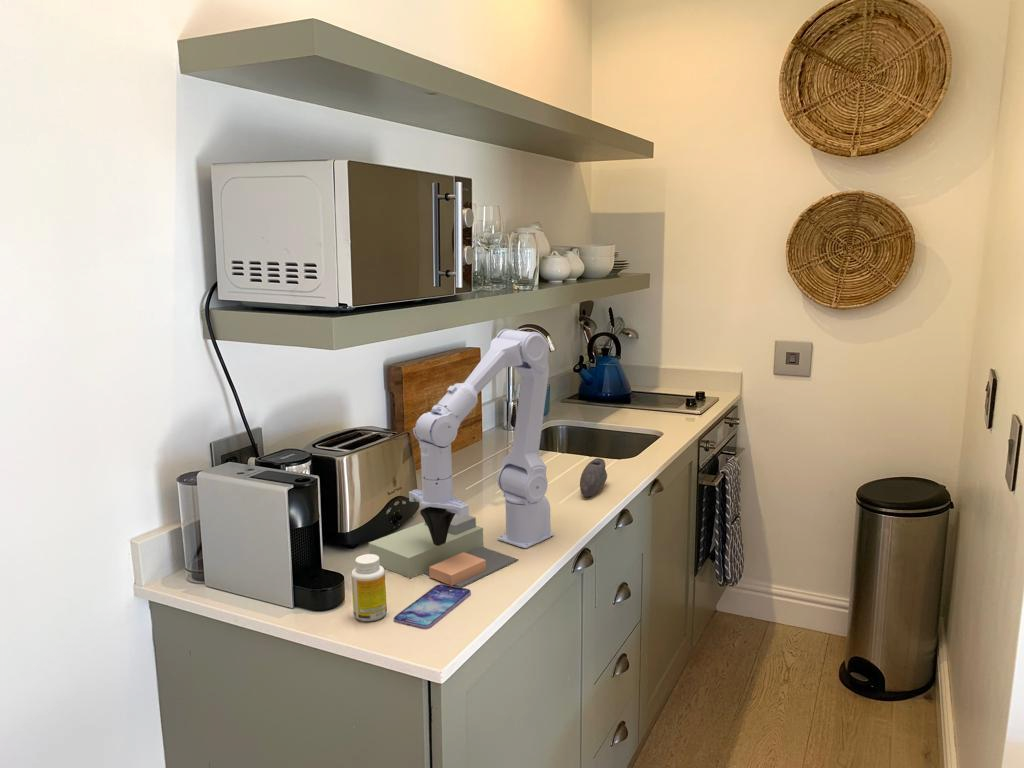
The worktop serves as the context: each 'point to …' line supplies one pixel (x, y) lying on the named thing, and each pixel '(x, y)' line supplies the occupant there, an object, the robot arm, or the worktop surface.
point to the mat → (493, 564)
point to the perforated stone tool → (593, 477)
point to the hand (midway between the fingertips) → (439, 543)
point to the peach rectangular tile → (457, 568)
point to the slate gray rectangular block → (461, 524)
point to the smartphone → (432, 606)
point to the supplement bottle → (368, 588)
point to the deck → (421, 548)
